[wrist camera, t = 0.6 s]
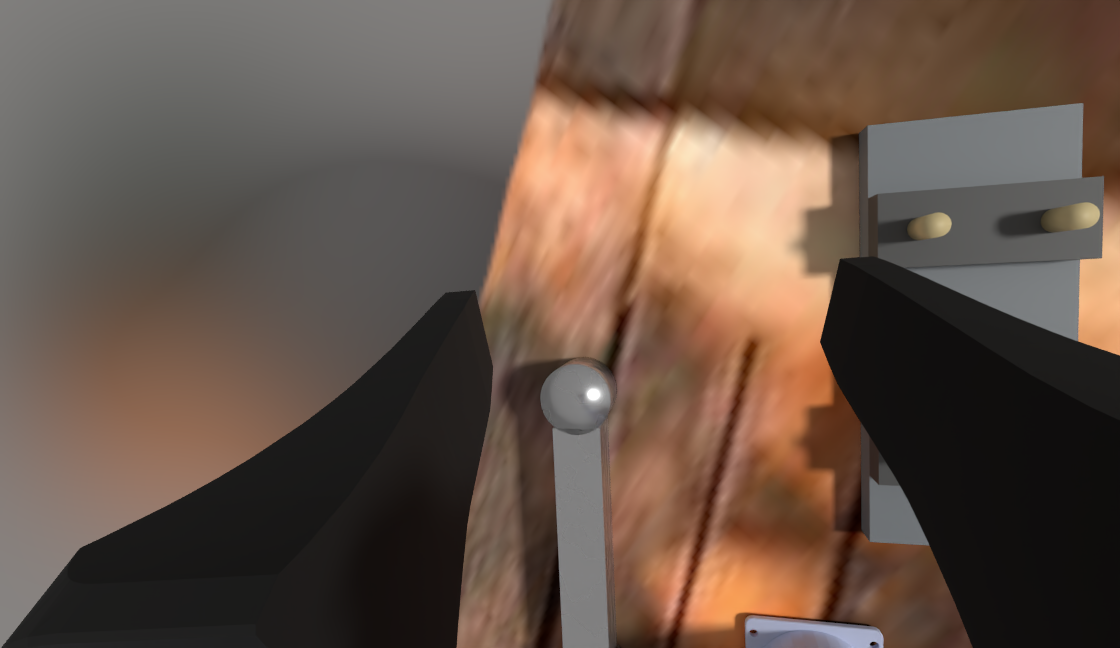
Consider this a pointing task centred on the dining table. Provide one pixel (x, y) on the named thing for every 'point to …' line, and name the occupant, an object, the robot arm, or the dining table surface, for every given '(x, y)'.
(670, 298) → the dining table surface
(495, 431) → the dining table surface
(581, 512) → the grey bar
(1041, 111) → the peg rack
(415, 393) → the robot arm
